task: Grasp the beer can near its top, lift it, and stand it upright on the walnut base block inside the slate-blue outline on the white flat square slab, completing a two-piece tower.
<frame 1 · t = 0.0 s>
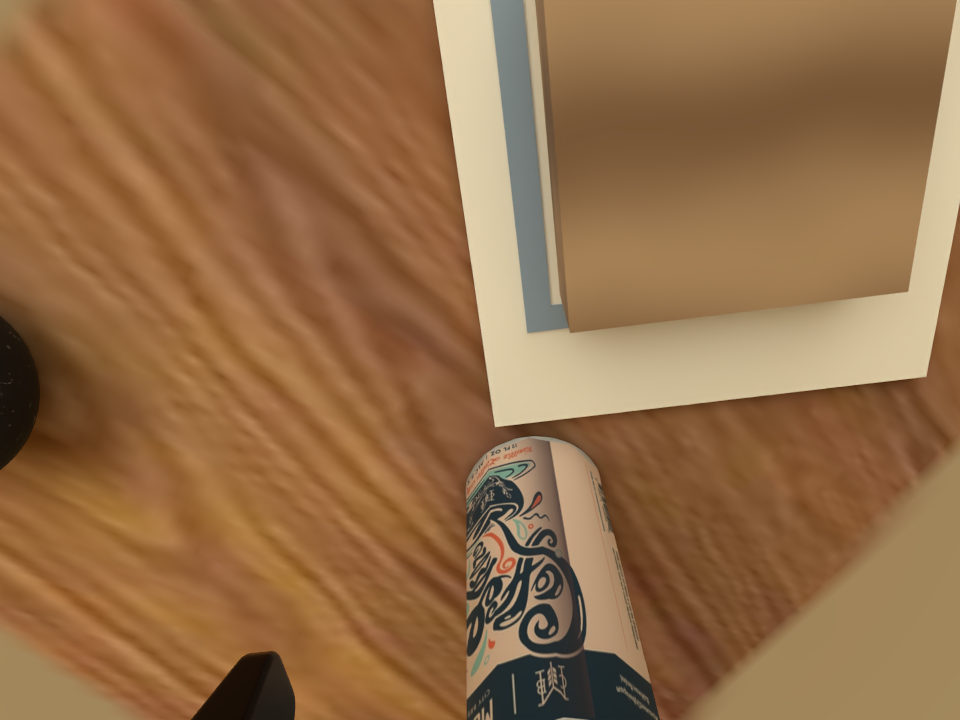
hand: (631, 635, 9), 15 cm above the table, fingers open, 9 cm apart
base block: (714, 121, 20), point 1 cm above the table, touching white flat square slab
beer can: (531, 479, 27), on the table
white flat square slab: (707, 153, 21), on the table
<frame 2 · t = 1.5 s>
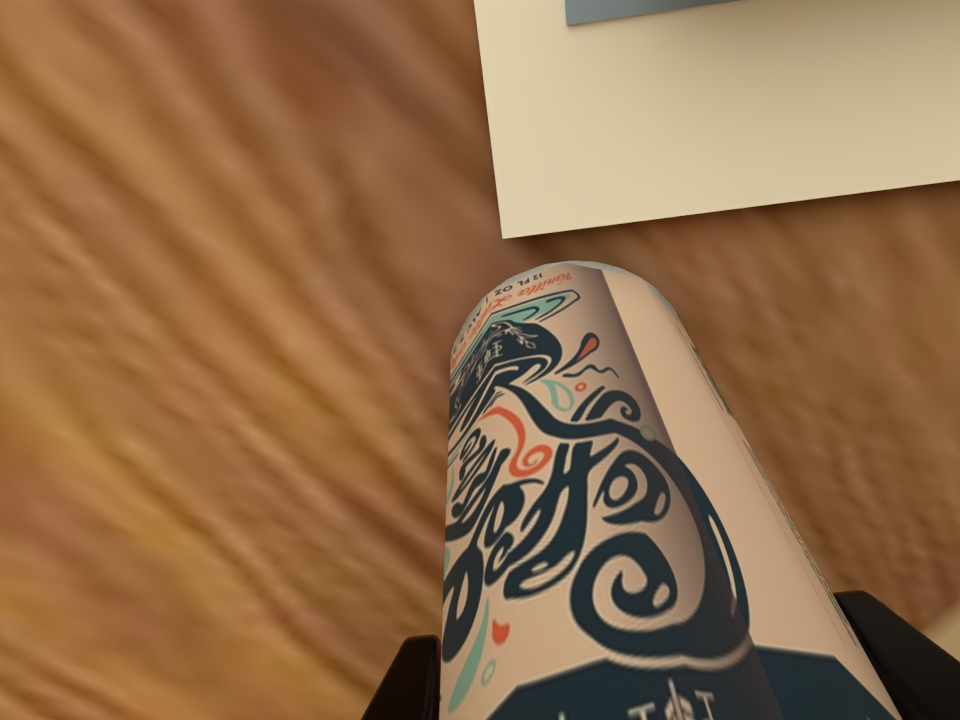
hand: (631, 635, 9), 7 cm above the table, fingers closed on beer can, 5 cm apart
beer can: (564, 354, 16), on the table, touching gripper
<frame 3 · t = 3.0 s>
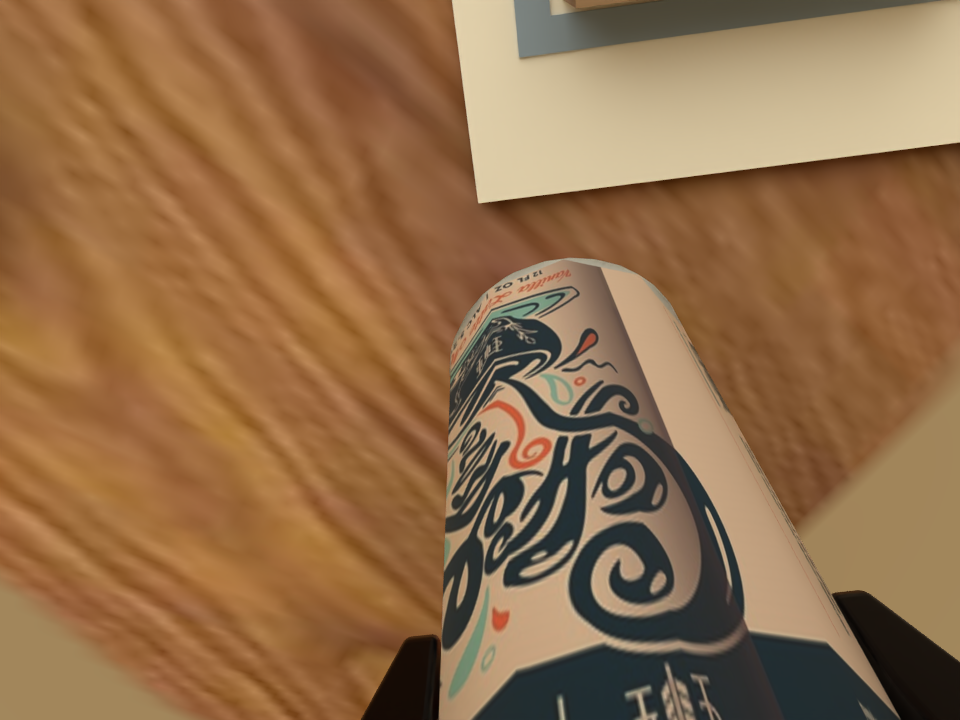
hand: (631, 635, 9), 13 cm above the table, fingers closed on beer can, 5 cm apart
beer can: (563, 351, 16), point 6 cm above the table, touching gripper
when the fingers open (11 cm above the table, at t = 4.5 s): beer can stays where it is, resting on base block.
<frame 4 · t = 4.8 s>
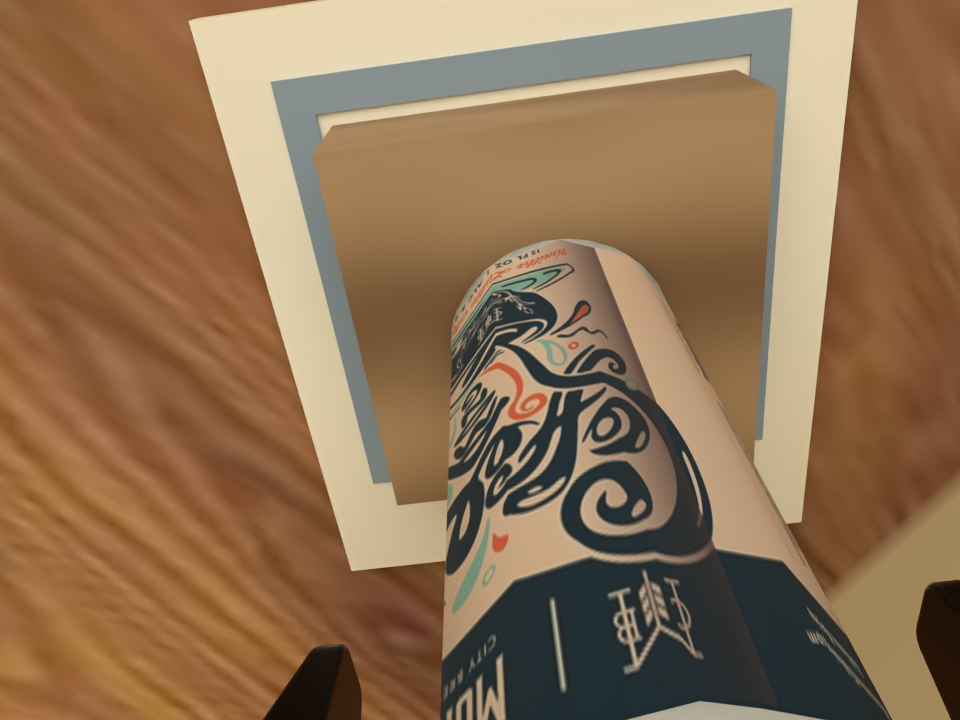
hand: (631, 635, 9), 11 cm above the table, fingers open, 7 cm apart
base block: (548, 282, 19), point 1 cm above the table, touching beer can, white flat square slab
beer can: (557, 327, 17), point 3 cm above the table, touching base block
white flat square slab: (549, 308, 20), on the table
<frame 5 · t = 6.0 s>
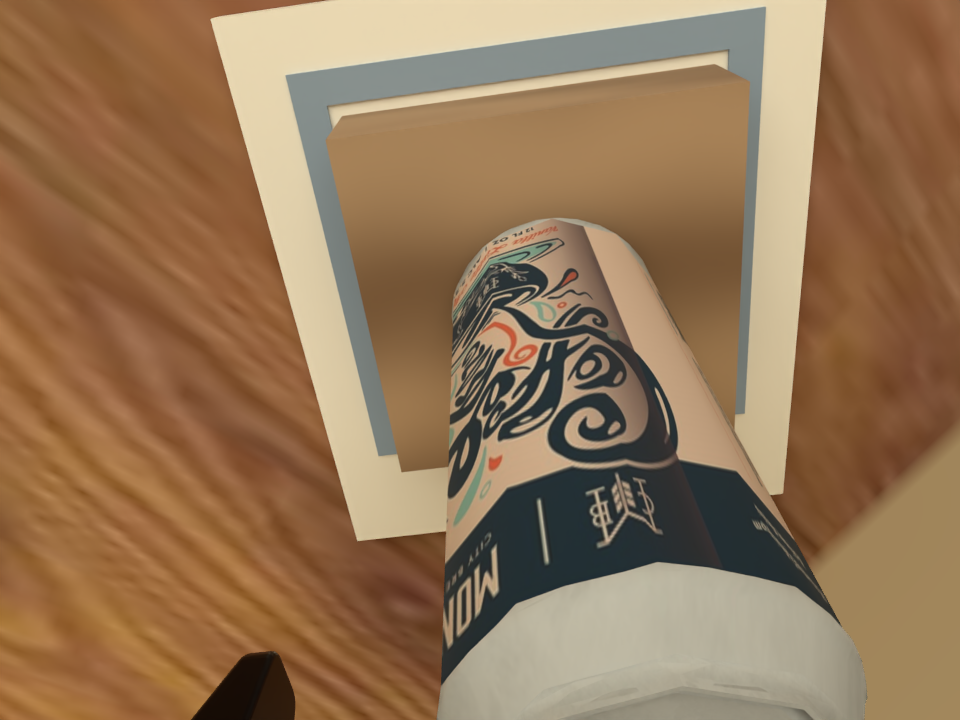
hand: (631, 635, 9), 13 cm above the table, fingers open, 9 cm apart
base block: (542, 263, 20), point 1 cm above the table, touching beer can, white flat square slab
beer can: (550, 302, 18), point 3 cm above the table, touching base block
white flat square slab: (544, 288, 21), on the table
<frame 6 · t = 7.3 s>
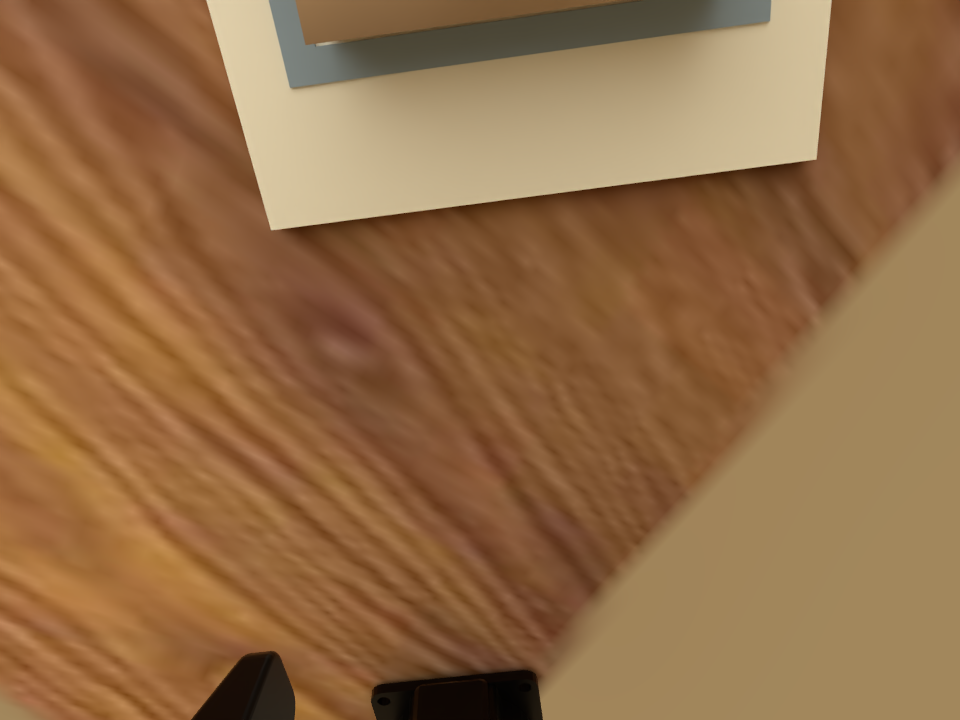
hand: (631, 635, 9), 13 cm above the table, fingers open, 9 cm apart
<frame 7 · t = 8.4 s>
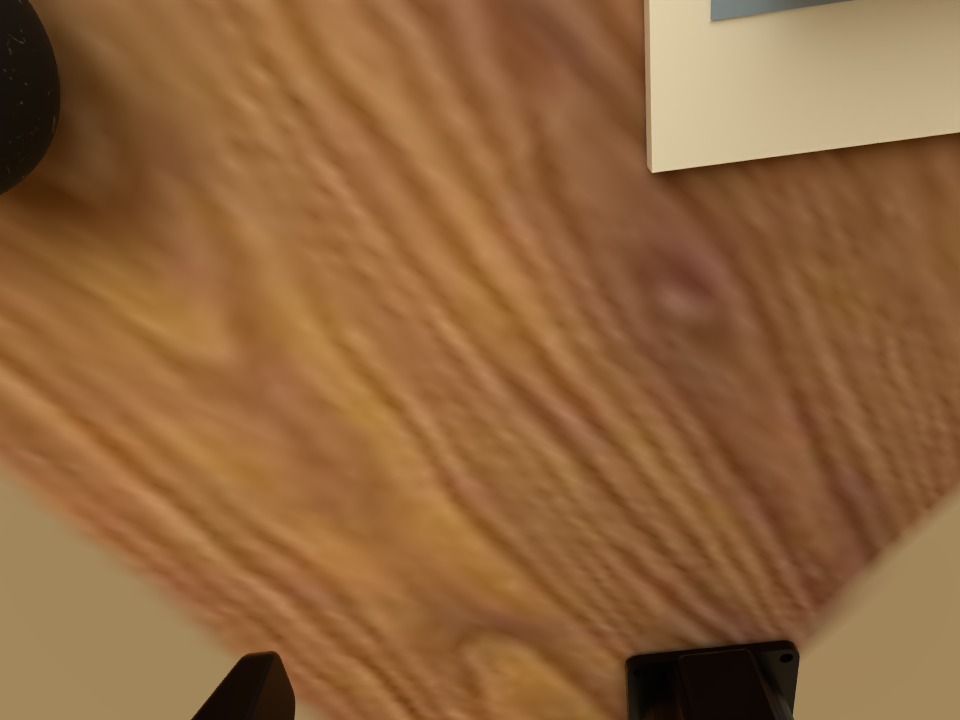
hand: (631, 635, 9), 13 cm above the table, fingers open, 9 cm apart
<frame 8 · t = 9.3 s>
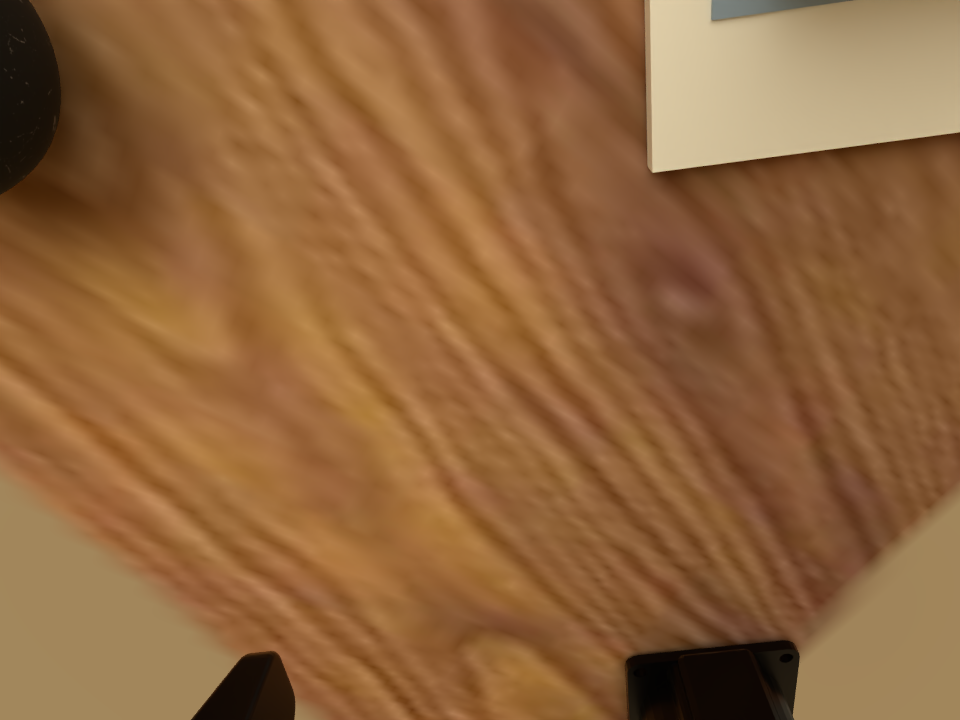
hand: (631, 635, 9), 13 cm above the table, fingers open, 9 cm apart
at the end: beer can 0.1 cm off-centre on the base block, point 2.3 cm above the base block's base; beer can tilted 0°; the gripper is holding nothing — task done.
